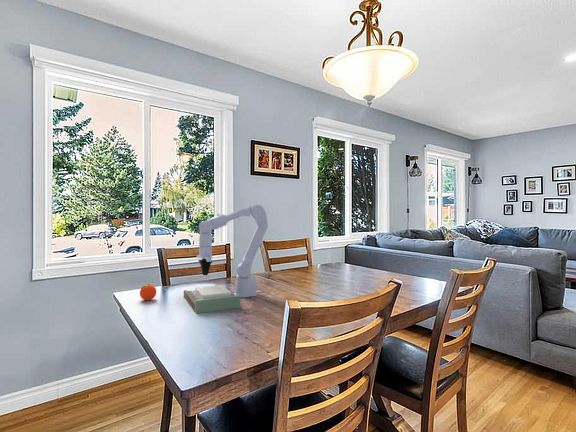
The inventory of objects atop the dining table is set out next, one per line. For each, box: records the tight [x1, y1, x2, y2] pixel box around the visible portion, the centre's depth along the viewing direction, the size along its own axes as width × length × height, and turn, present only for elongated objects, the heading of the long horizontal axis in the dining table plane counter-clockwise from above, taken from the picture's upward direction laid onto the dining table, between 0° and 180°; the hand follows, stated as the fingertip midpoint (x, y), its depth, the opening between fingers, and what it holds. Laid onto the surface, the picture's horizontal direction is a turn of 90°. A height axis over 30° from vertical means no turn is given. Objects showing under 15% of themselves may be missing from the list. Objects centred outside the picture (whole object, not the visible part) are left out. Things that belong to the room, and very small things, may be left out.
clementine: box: [138, 284, 157, 301], centre depth 147 cm, size 8×7×7 cm
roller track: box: [183, 289, 234, 313], centre depth 147 cm, size 18×24×3 cm
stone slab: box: [194, 284, 232, 299], centre depth 143 cm, size 12×14×3 cm
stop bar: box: [194, 294, 241, 314], centre depth 135 cm, size 18×2×5 cm, turn 118°
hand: (205, 274), depth 155 cm, fingers closed
